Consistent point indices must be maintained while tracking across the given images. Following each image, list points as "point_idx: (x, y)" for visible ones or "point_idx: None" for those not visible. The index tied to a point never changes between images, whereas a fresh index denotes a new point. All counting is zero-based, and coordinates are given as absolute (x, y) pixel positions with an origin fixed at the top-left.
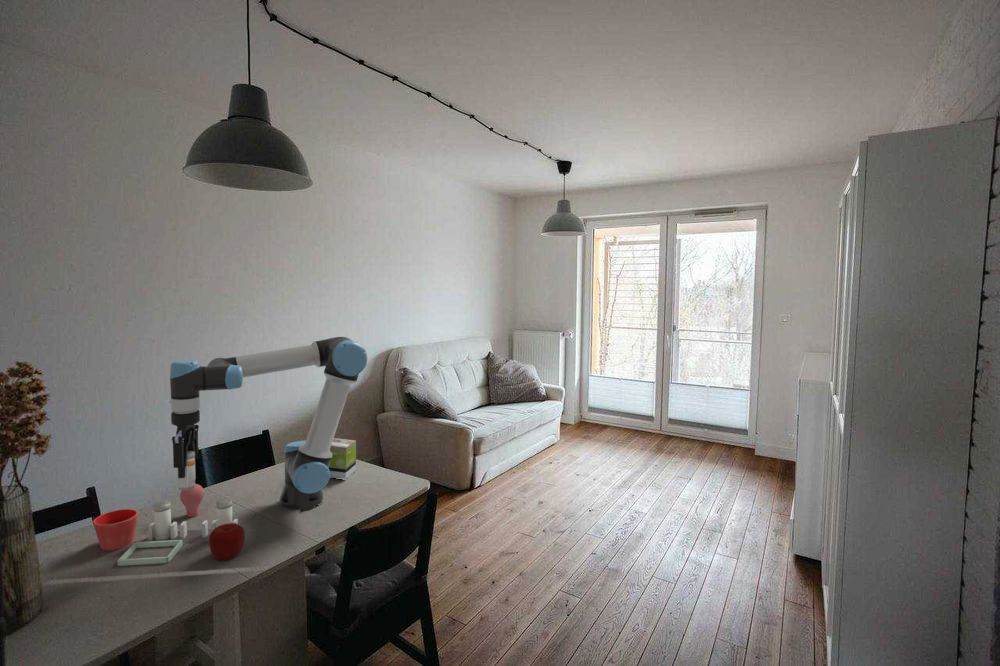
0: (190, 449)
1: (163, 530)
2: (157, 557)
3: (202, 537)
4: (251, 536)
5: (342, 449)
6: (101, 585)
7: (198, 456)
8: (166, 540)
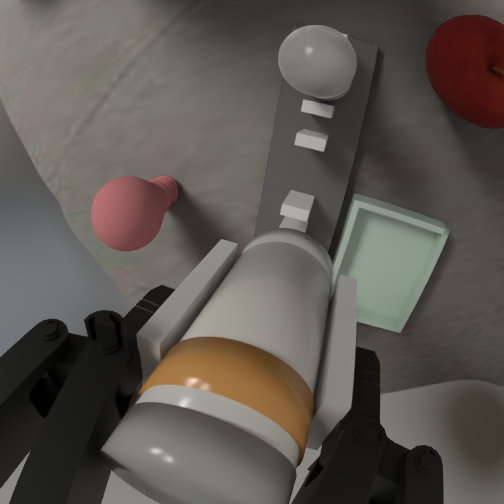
0: (91, 465)
1: None
2: (435, 256)
3: (327, 143)
4: (342, 6)
5: None
6: (448, 332)
7: (86, 319)
8: None
